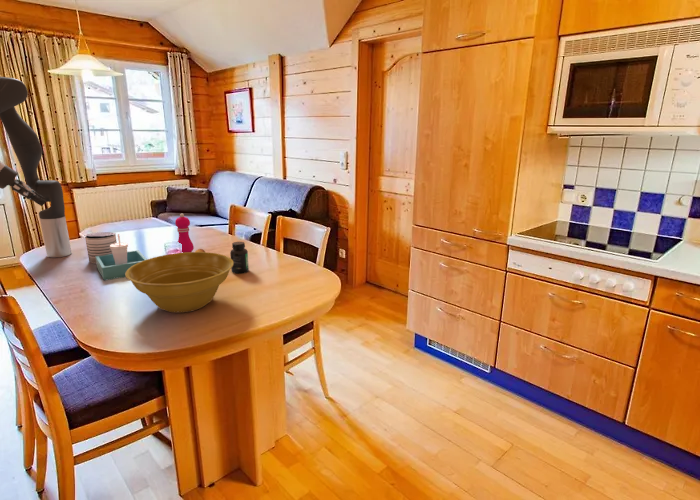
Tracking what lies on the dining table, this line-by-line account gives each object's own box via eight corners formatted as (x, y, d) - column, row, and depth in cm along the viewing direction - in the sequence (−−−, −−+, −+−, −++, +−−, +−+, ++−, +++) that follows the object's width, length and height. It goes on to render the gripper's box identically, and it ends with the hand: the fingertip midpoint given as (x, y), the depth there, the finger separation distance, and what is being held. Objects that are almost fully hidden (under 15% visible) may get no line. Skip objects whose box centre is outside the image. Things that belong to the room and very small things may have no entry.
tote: (97, 267, 170) (95, 256, 169) (139, 261, 179) (138, 250, 178) (104, 280, 156) (102, 267, 155) (149, 272, 166) (148, 260, 164)
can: (82, 261, 178) (78, 234, 174) (106, 254, 188) (102, 228, 184) (101, 265, 174) (97, 237, 170) (125, 257, 184) (121, 231, 180)
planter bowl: (126, 334, 116) (120, 289, 112) (133, 293, 144) (128, 256, 141) (243, 316, 129) (241, 275, 125) (228, 282, 157) (226, 248, 153)
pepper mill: (197, 255, 188) (194, 212, 183) (187, 260, 182) (182, 215, 176) (184, 254, 191) (180, 211, 185) (173, 258, 184) (169, 214, 178)
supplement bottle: (252, 271, 169) (250, 243, 166) (237, 275, 164) (235, 246, 161) (242, 267, 174) (241, 239, 170) (228, 271, 169) (226, 242, 165)
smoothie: (123, 270, 164) (118, 236, 160) (109, 269, 165) (103, 235, 161) (134, 265, 170) (129, 232, 166) (121, 264, 171) (116, 231, 167)
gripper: (4, 165, 138) (52, 197, 148) (5, 162, 149) (49, 192, 159) (-14, 182, 136) (36, 213, 146) (-11, 178, 147) (35, 207, 157)
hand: (43, 202), depth 152 cm, fingers open, 8 cm apart
